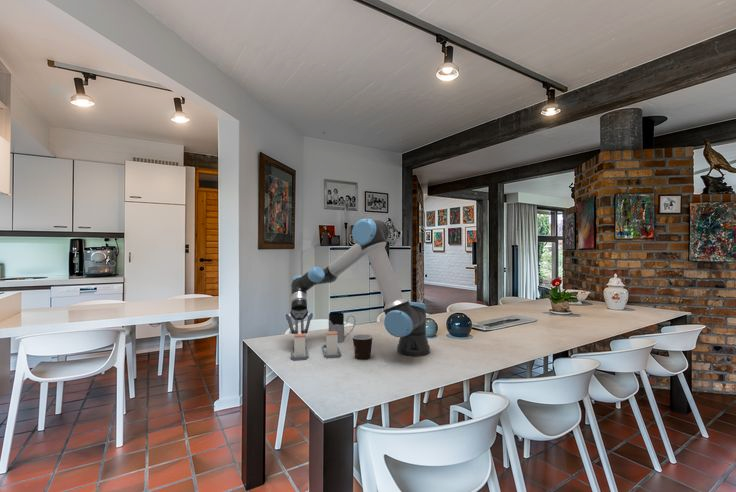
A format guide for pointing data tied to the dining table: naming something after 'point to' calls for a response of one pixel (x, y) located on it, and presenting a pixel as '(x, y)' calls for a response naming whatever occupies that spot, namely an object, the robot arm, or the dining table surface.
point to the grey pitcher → (338, 325)
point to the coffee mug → (362, 346)
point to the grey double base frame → (308, 355)
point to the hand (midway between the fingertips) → (299, 346)
